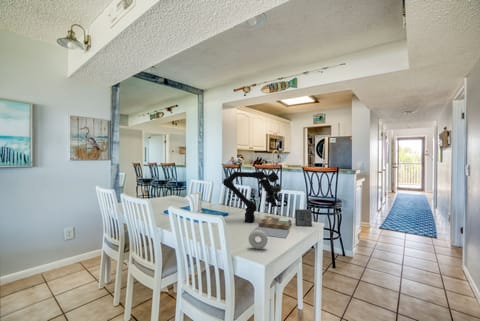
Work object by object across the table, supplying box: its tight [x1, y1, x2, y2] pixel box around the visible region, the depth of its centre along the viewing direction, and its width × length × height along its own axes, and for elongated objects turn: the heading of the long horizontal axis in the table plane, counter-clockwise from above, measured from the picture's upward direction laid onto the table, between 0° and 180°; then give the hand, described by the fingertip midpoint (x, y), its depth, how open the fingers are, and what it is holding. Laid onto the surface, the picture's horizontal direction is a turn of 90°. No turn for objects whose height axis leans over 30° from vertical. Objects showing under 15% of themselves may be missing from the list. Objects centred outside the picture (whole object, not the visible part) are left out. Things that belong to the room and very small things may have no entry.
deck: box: [258, 217, 292, 231], centre depth 159 cm, size 20×14×3 cm
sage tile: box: [278, 217, 291, 224], centre depth 158 cm, size 6×8×2 cm
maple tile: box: [261, 215, 274, 222], centre depth 162 cm, size 6×8×2 cm
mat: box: [252, 226, 290, 239], centre depth 145 cm, size 22×14×1 cm, turn 69°
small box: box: [294, 208, 313, 227], centre depth 161 cm, size 11×6×10 cm, turn 84°
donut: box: [248, 229, 269, 250], centre depth 120 cm, size 10×4×10 cm, turn 80°
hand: (277, 204), depth 171 cm, fingers open, 9 cm apart
